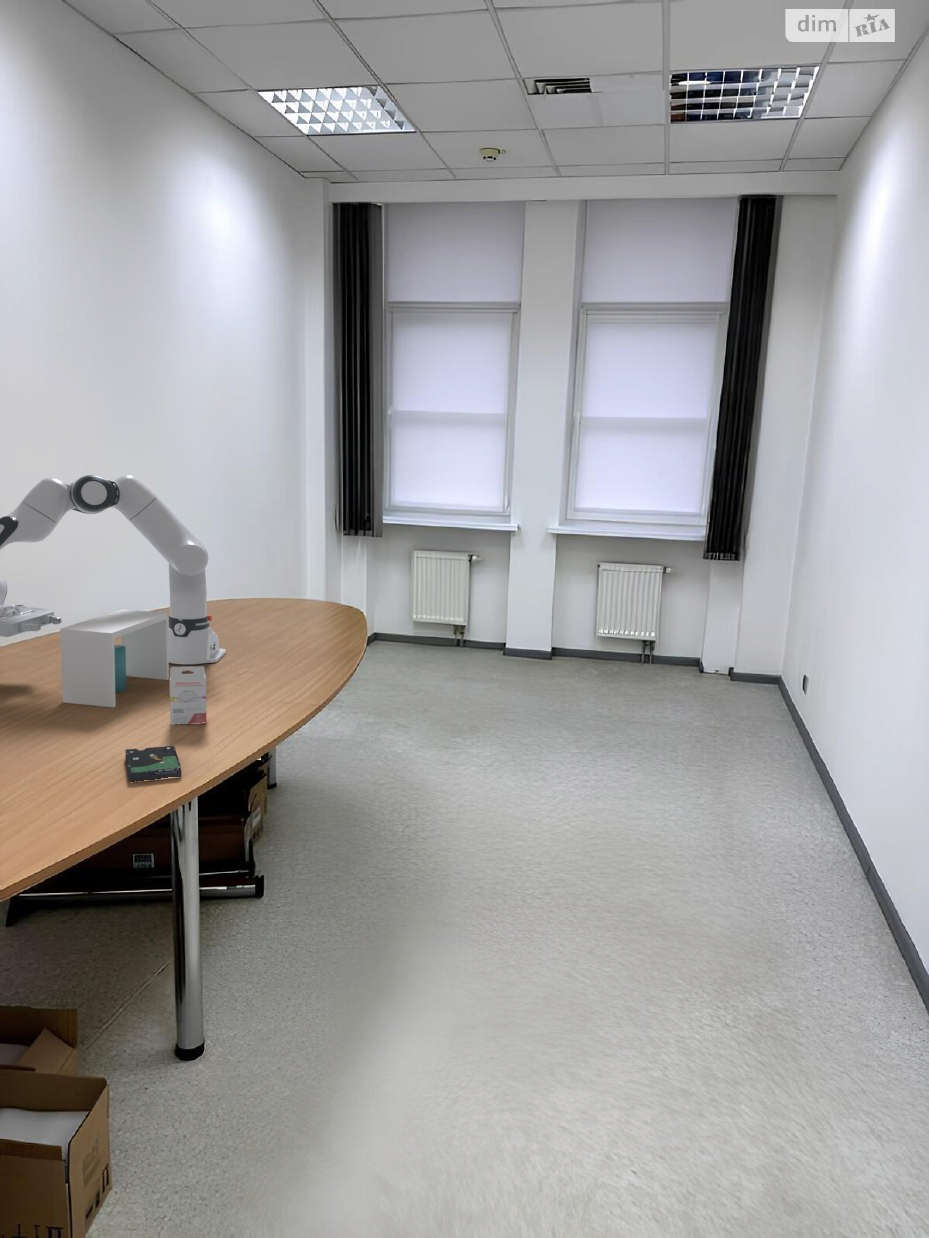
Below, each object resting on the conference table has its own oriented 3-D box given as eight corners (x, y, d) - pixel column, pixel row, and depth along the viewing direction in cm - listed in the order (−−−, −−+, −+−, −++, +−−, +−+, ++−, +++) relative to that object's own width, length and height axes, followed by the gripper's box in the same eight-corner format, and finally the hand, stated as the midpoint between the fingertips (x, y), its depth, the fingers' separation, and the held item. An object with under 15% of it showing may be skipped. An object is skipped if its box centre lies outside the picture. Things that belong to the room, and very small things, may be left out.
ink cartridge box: (206, 718, 216) (206, 661, 214) (206, 724, 212) (206, 666, 209) (170, 719, 214) (170, 662, 211) (169, 725, 209) (169, 667, 207)
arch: (123, 674, 252) (122, 609, 248) (168, 678, 250) (168, 613, 246) (62, 702, 222) (60, 628, 219) (113, 707, 221) (111, 633, 217)
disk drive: (124, 761, 186) (129, 785, 173) (124, 749, 186) (129, 772, 172) (174, 756, 190) (182, 779, 177) (174, 744, 190) (182, 766, 177)
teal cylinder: (111, 686, 239) (110, 644, 237) (130, 687, 239) (129, 646, 237) (100, 691, 234) (99, 648, 232) (119, 693, 233) (118, 650, 231)
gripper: (-24, 616, 227) (25, 620, 225) (25, 603, 246) (70, 606, 245) (-22, 639, 228) (26, 643, 226) (27, 625, 248) (71, 628, 246)
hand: (49, 624), depth 236 cm, fingers open, 8 cm apart
